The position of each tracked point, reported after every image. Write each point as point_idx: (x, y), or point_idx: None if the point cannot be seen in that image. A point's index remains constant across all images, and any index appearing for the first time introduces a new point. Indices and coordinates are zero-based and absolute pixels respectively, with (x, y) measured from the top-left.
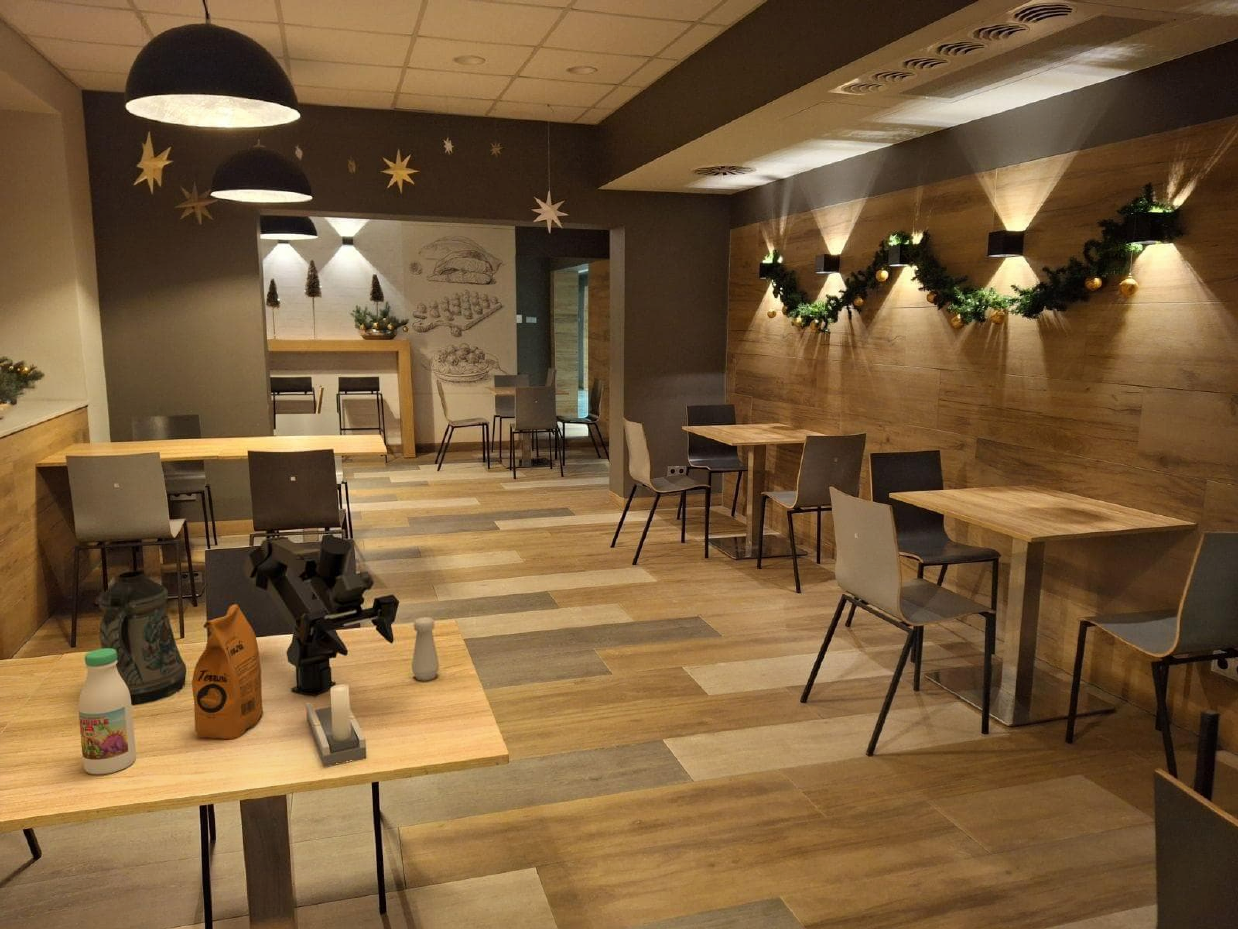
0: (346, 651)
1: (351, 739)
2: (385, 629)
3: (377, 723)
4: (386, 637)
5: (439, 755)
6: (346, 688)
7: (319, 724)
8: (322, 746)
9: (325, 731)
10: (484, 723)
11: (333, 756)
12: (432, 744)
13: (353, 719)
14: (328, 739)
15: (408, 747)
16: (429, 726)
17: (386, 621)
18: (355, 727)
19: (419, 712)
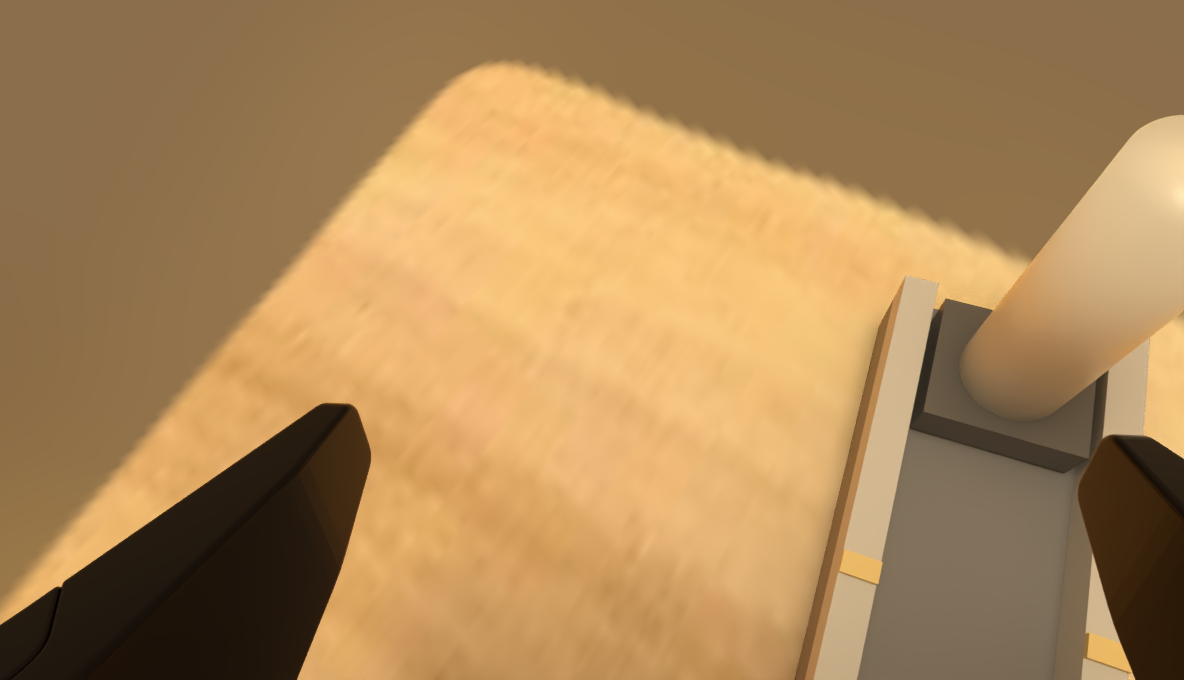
0: (1132, 438)
1: (974, 315)
2: (215, 620)
3: (639, 640)
4: (311, 583)
5: (627, 159)
6: (1154, 131)
7: (1099, 634)
8: (1146, 357)
9: (1025, 639)
10: (312, 255)
11: None
12: (587, 245)
13: (858, 545)
14: (1093, 405)
15: (677, 288)
16: (478, 396)
17: (27, 672)
18: (896, 430)
19: (392, 581)
